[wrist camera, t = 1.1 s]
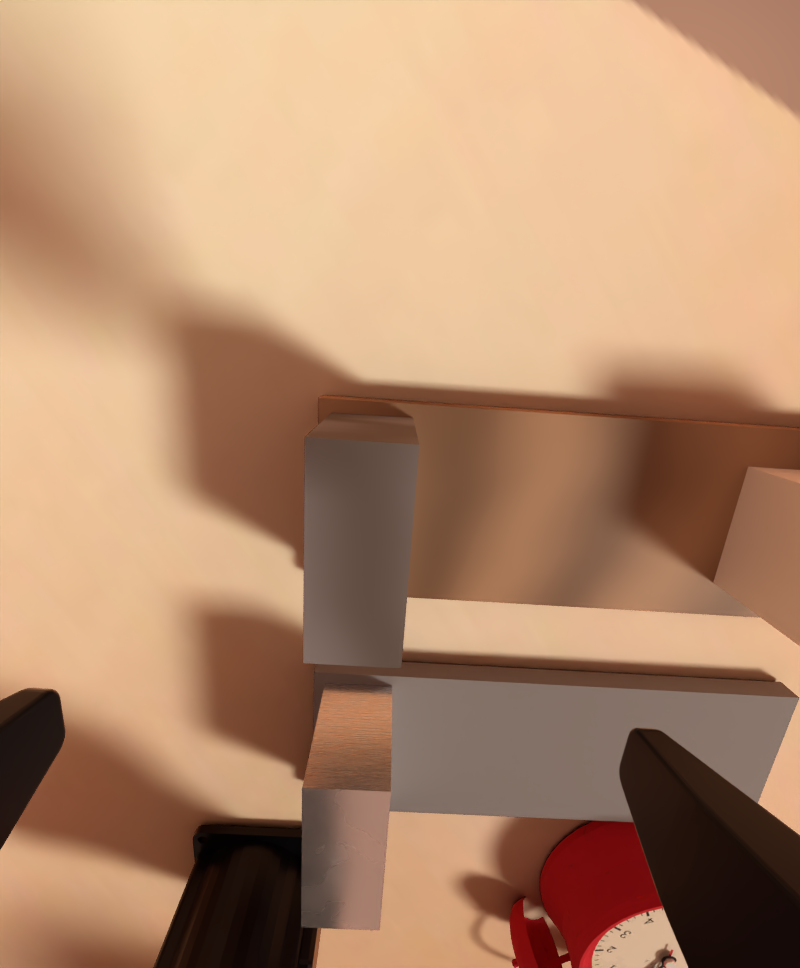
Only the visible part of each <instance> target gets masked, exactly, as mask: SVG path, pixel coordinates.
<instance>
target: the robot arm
mask: <svg viewBox="0 0 800 968" xmlns="http://www.w3.org/2000/svg"><path fill="white" fill-rule="evenodd" d="M64 738H65V726H64V719H63V713H62V707H61V700H60V696H59V694H58V693H57V691H55V690H53V689H40V688H27V689H24V690H21V691H19V692H17V693H15V694H13V695H11V696H9V697H7V698H5V699H3V700H1V701H0V849H1V848H2V846H3V845H4V843H5V841H6V840H7V838H8V836H9V835H10V833H11V831H12V830H13V828H14V826H15V824H16V823H17V821H18V819H19V818H20V816H21V814H22V813H23V811H24V809H25V808H26V806H27V804H28V803H29V801H30V799H31V798H32V796H33V794H34V793H35V791H36V789H37V788H38V786H39V784H40V783H41V781H42V779H43V778H44V776H45V774H46V772H47V771H48V769H49V767H50V766H51V764H52V762H53V761H54V759H55V757H56V756H57V754H58V752H59V751H60V749H61V746H62V744H63V741H64ZM619 777H620V782H621V786H622V789H623V792H624V795H625V798H626V801H627V804H628V807H629V810H630V813H631V816H632V819H633V822H634V825H635V828H636V831H637V834H638V837H639V840H640V843H641V846H642V849H643V852H644V855H645V858H646V861H647V864H648V867H649V870H650V873H651V876H652V879H653V882H654V884H655V887H656V890H657V893H658V896H659V898H660V901H661V904H662V906H663V909H664V911H665V913H666V916H667V918H668V921H669V923H670V926H671V928H672V930H673V933H674V935H675V937H676V940H677V942H678V945H679V947H680V949H681V952H682V954H683V956H684V959H685V961H686V963H687V966H688V968H800V835H799V834H797V833H796V832H795V831H793V830H792V829H791V828H789V827H788V826H787V825H786V824H784V823H783V822H782V821H780V820H779V819H778V818H776V817H775V816H774V815H772V814H771V813H770V812H768V811H767V810H766V809H764V808H763V807H762V806H760V805H759V804H758V803H756V802H755V801H754V800H752V799H751V798H750V797H749V796H747V795H746V794H745V793H743V792H742V791H741V790H739V789H738V788H737V787H735V786H734V785H733V784H731V783H730V782H729V781H727V780H726V779H725V778H723V777H722V776H721V775H719V774H718V773H717V772H715V771H714V770H713V769H711V768H710V767H709V766H708V765H706V764H705V763H704V762H702V761H701V760H700V759H698V758H697V757H696V756H694V755H693V754H692V753H690V752H689V751H688V750H686V749H685V748H684V747H682V746H681V745H680V744H678V743H677V742H676V741H674V740H673V739H672V738H671V737H669V736H668V735H667V734H665V733H664V732H662V731H660V730H658V729H652V728H633V729H632V730H631V731H630V732H629V735H628V738H627V742H626V745H625V748H624V752H623V755H622V759H621V762H620V767H619ZM193 846H194V857H195V864H194V866H193V869H192V871H191V874H190V877H189V879H188V882H187V884H186V887H185V889H184V892H183V894H182V897H181V899H180V902H179V904H178V907H177V909H176V912H175V914H174V917H173V919H172V922H171V924H170V927H169V930H168V932H167V935H166V937H165V940H164V942H163V945H162V947H161V950H160V952H159V955H158V957H157V960H156V962H155V965H154V967H153V968H316V964H317V956H318V949H319V941H320V934H321V928H307V927H301V886H302V829H285V828H262V827H240V826H217V825H201V826H199V827H198V828H197V829H196V832H195V834H194V837H193Z"/></svg>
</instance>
